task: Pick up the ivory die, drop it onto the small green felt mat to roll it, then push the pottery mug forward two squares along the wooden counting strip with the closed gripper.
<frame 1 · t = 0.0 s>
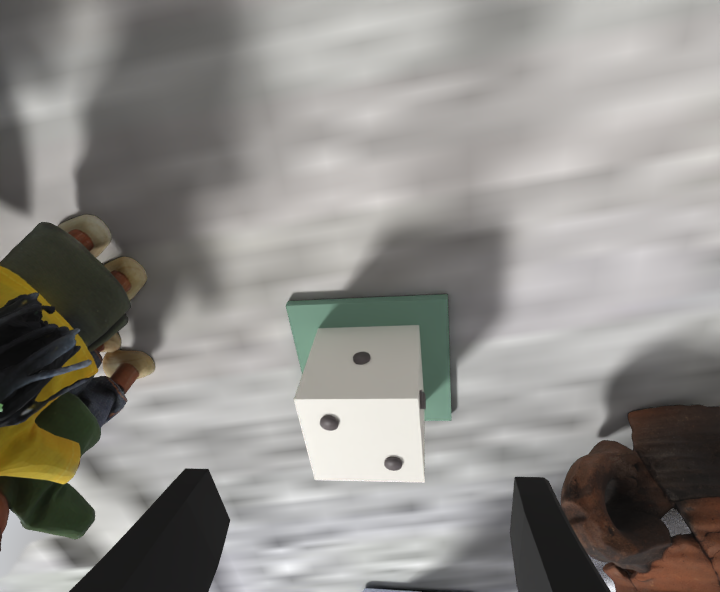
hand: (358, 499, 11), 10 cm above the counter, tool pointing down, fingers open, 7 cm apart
felt mat: (373, 360, 22), on the counter
doll family: (29, 198, 20), on the counter
die: (373, 366, 21), resting on felt mat
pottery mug: (643, 458, 23), on the counter
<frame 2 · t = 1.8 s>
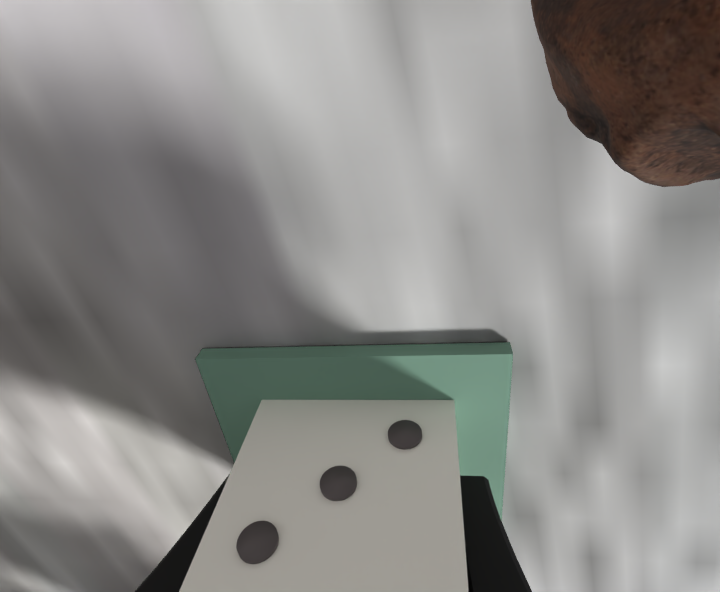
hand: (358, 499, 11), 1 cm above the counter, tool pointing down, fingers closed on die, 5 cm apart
felt mat: (364, 452, 12), on the counter
die: (365, 465, 12), resting on felt mat, touching gripper
when the fingers open (9 cm above the counter, at t = 3.5 s): die drops 8 cm, resting on felt mat.
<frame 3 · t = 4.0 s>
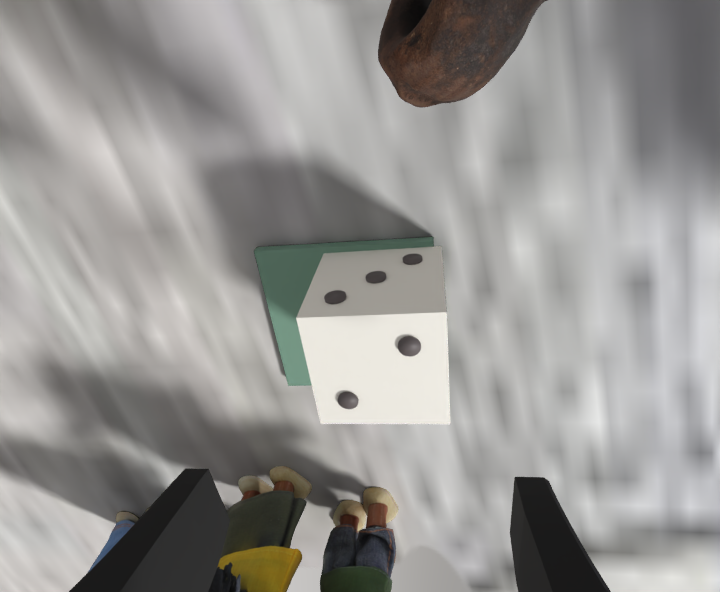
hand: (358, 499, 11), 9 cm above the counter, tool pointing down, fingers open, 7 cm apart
felt mat: (353, 316, 20), on the counter
doll family: (239, 505, 28), on the counter
die: (386, 300, 18), resting on felt mat
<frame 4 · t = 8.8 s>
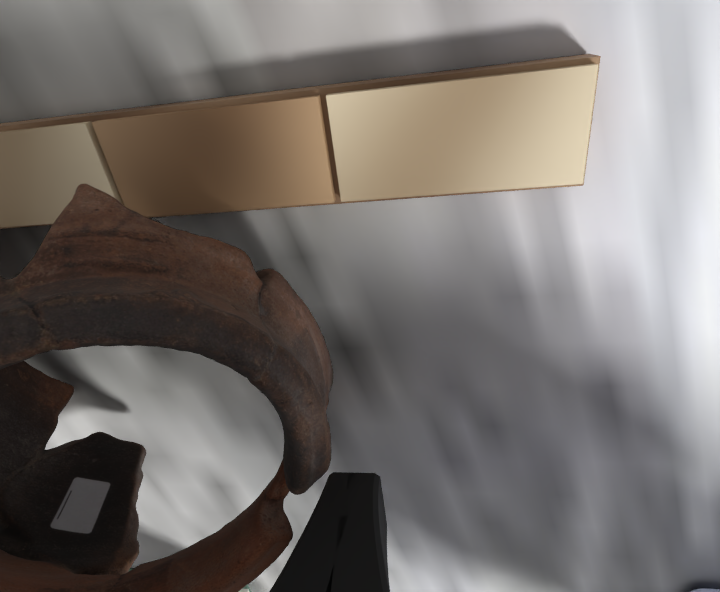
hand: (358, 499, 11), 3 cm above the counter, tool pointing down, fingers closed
counting strip: (129, 162, 10), on the counter
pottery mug: (158, 346, 13), on the counter, touching gripper
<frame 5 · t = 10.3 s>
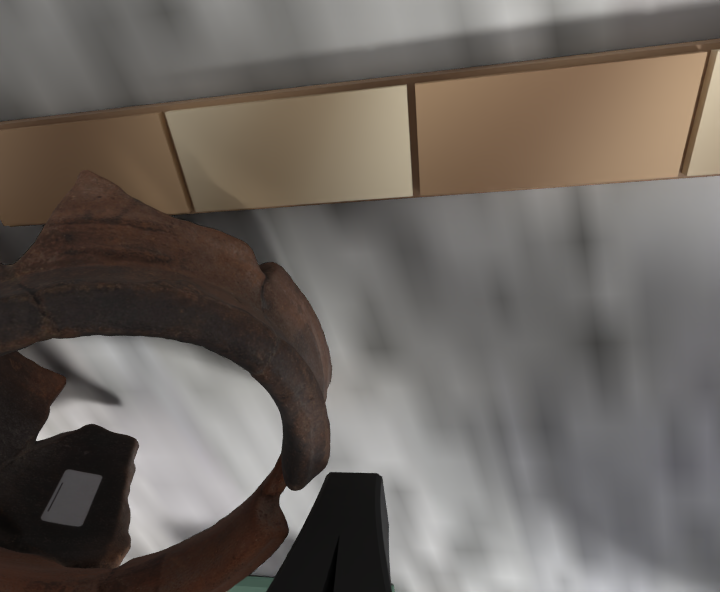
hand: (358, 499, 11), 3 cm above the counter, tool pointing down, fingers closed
counting strip: (414, 134, 9), on the counter
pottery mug: (154, 338, 13), on the counter, touching gripper
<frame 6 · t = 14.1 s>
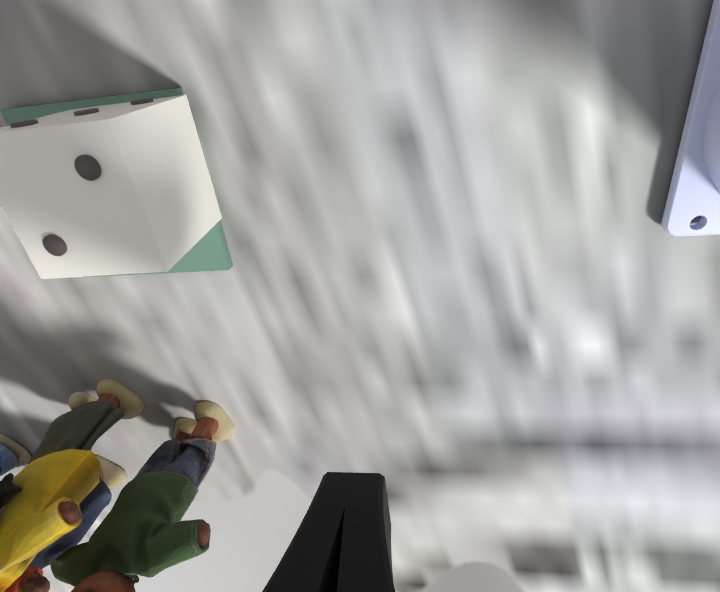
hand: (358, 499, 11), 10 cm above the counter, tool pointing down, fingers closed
felt mat: (128, 191, 18), on the counter
doll family: (81, 430, 27), on the counter
die: (149, 166, 17), resting on felt mat
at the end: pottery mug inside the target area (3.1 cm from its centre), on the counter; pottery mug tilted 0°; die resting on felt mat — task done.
